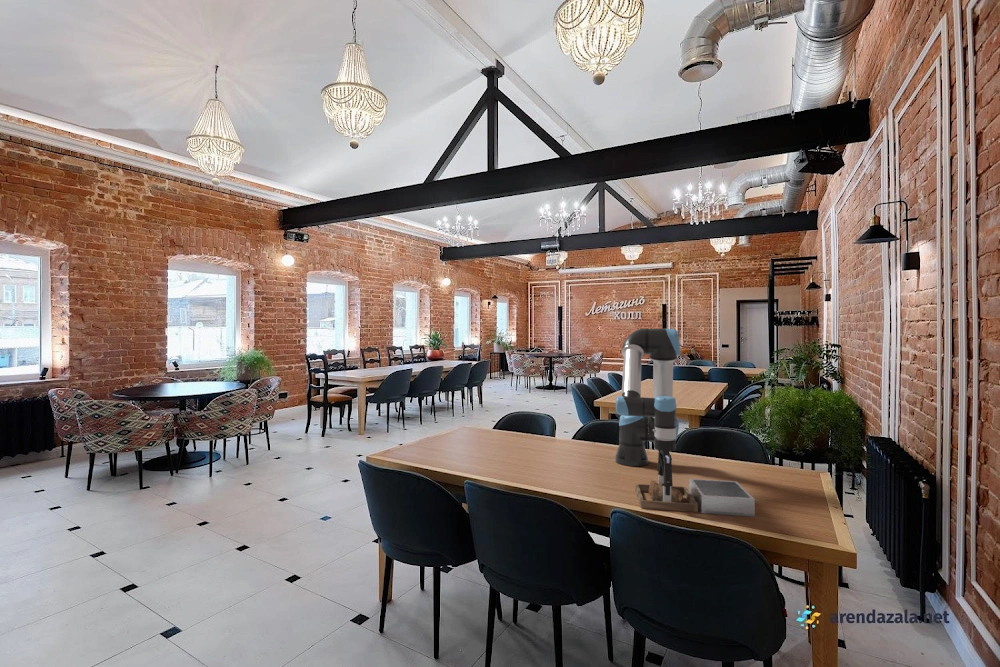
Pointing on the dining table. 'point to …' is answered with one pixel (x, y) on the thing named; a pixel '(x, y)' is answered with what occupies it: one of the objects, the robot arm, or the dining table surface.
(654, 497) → the stone
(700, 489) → the bin
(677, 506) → the frame
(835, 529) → the dining table surface
